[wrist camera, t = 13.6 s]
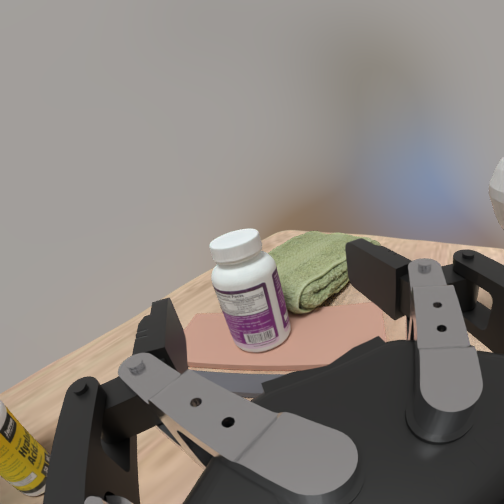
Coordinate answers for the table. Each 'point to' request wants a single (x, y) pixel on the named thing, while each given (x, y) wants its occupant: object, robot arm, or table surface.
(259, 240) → the pill bottle
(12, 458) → the supplement bottle
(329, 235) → the washcloth
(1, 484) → the table surface
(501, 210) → the lollipop
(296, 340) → the mat
